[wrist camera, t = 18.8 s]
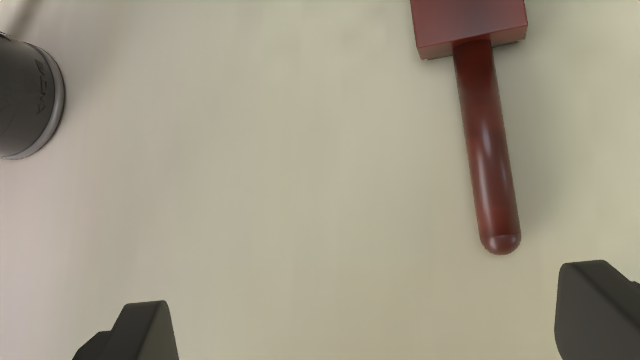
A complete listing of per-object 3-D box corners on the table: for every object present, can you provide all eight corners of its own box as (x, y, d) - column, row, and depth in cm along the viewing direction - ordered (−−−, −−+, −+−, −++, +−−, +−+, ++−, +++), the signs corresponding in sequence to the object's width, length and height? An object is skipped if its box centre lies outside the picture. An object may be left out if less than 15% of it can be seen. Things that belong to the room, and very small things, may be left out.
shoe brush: (450, 258, 32) (446, 262, 29) (406, -53, 35) (398, -82, 31) (556, 248, 30) (566, 250, 27) (503, -78, 33) (505, -113, 30)
